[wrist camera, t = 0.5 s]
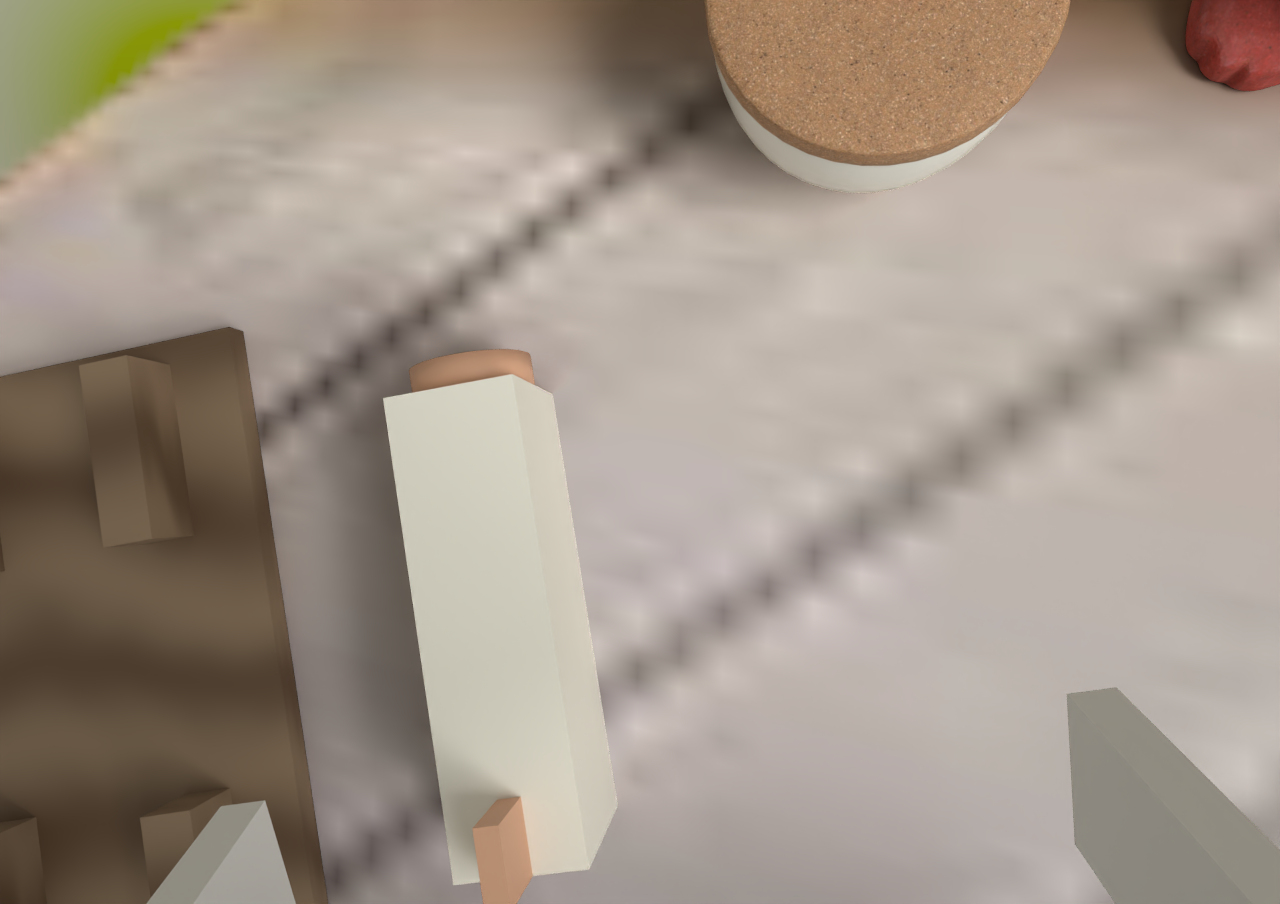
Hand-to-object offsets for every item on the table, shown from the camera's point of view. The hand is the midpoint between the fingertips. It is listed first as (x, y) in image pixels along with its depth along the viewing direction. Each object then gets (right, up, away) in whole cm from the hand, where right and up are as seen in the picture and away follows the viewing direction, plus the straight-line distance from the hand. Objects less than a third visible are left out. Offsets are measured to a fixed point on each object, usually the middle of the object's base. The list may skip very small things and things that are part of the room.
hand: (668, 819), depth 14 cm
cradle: (-22, -3, +22) cm, 32 cm away
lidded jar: (+8, +20, +20) cm, 29 cm away
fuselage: (-5, 0, +20) cm, 21 cm away
